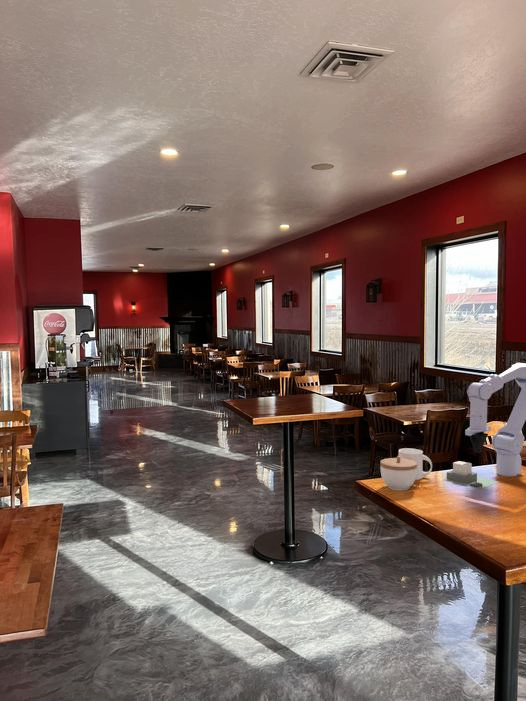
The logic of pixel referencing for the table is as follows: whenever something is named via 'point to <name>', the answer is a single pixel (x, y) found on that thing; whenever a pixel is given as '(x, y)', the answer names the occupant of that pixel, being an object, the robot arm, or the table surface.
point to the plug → (462, 468)
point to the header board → (469, 480)
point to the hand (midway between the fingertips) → (477, 452)
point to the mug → (416, 460)
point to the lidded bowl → (398, 473)
